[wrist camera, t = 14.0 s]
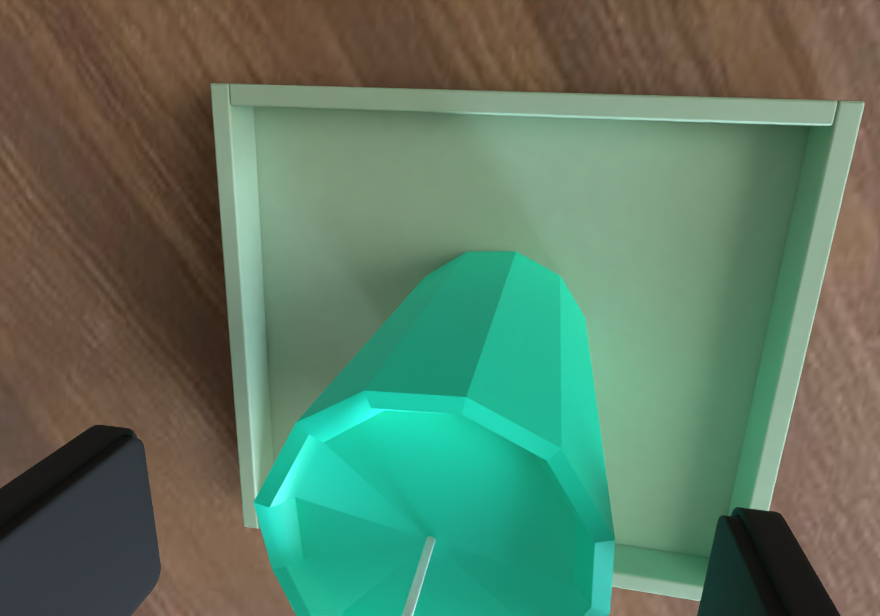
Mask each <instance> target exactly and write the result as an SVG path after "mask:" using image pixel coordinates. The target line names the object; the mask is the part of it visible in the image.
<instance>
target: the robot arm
mask: <svg viewBox="0 0 880 616" xmlns="http://www.w3.org/2000/svg"><path fill="white" fill-rule="evenodd" d="M160 570H161V564H160V557H159V550H158V543H157V536H156V528H155V521H154V514H153V507H152V500H151V493H150V486H149V479H148V472H147V465H146V457H145V450H144V445H143V443H142V441H141V440H140V439H138V438H137V436H136V434H135V433H134V431H133V430H131V429H129V428H121V427H113V426H105V425H95V426H93V427H91V428H89V429H88V430H86V431H85V432H83V433H82V434H80V435H79V436H77V437H76V438H74V439H73V440H71V441H70V442H68V443H67V444H65V445H64V446H62V447H61V448H59V449H58V450H57V451H55V452H54V453H52V454H51V455H49V456H48V457H46V458H45V459H43V460H42V461H40V462H39V463H37V464H36V465H34V466H33V467H31V468H30V469H29V470H27V471H26V472H24V473H23V474H21V475H20V476H18V477H17V478H15V479H14V480H12V481H11V482H9V483H8V484H6V485H5V486H3V487H2V488H1V489H0V616H131V615H132V614H133V612H134V611H135V610H136V609H137V608H138V606H139V605H140V604H141V603H142V602H143V601H144V599H145V598H146V597H147V596H148V595H149V593H150V592H151V591H152V590H153V588H154V587H155V585H156V583H157V581H158V578H159V575H160ZM697 616H840V614H839V612H838V611H837V609H836V607H835V605H834V604H833V602H832V600H831V599H830V597H829V595H828V593H827V592H826V590H825V588H824V587H823V585H822V583H821V581H820V580H819V578H818V576H817V574H816V573H815V571H814V569H813V568H812V566H811V564H810V562H809V561H808V559H807V557H806V555H805V554H804V552H803V550H802V549H801V547H800V545H799V543H798V542H797V540H796V538H795V537H794V535H793V533H792V531H791V530H790V528H789V526H788V524H787V523H786V521H785V519H784V518H783V516H782V515H781V514H780V513H778V512H773V511H765V510H757V509H749V508H742V507H736V508H734V510H733V511H732V513H731V516H725V515H722V516H720V517H719V519H718V522H717V526H716V531H715V535H714V540H713V545H712V549H711V554H710V559H709V563H708V568H707V573H706V577H705V582H704V587H703V591H702V596H701V601H700V605H699V610H698V615H697Z"/></svg>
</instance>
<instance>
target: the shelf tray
mask: <svg viewBox="0 0 880 616" xmlns="http://www.w3.org/2000/svg"><path fill="white" fill-rule="evenodd" d="M210 88H211V101H212V114H213V127H214V141H215V154H216V167H217V180H218V193H219V207H220V220H221V233H222V246H223V260H224V273H225V286H226V299H227V312H228V326H229V339H230V352H231V365H232V378H233V392H234V405H235V418H236V431H237V444H238V458H239V471H240V484H241V497H242V511H243V524H244V526H245V527H251V528H259V529H261V528H260V524H259V521H258V517H257V514H256V510H255V507H254V503H253V502H254V500H255V498H256V496H257V494H258V493H259V491H260V489H261V487H262V485H263V483H264V481H265V479H266V478H267V476H268V474H269V472H270V470H271V468H272V466H273V464H274V463H275V461H276V459H277V457H278V455H279V453H280V451H281V449H282V447H283V446H284V444H285V442H286V440H287V438H288V436H289V434H290V432H291V431H292V429H293V427H294V425H295V423H296V422H297V421H298V419H299V418H300V417H301V416H302V415H303V414H304V413H305V412H306V410H307V409H308V408H309V407H310V406H311V405H312V404H313V403H314V401H315V400H316V399H317V398H318V397H319V396H320V395H321V394H322V392H323V391H324V390H325V389H326V388H327V387H328V386H329V385H330V383H331V382H332V381H333V380H334V379H335V378H336V377H337V375H338V374H339V373H340V372H341V371H342V370H343V369H344V368H345V366H346V365H347V364H348V363H349V362H350V361H351V360H352V359H353V357H354V356H355V355H356V354H357V353H358V352H359V351H360V350H361V348H362V347H363V346H364V345H365V344H366V343H367V342H368V341H369V339H370V338H371V337H372V336H373V335H374V334H375V333H376V332H377V330H378V329H379V328H380V327H381V326H382V325H383V324H384V322H385V321H386V320H387V319H388V318H389V317H390V316H391V315H392V313H393V312H394V311H395V310H396V309H397V308H398V307H399V306H400V304H401V303H402V302H403V301H404V300H405V299H406V298H407V297H408V295H409V294H410V293H411V292H412V291H413V290H414V289H415V288H416V286H417V285H418V284H419V283H420V282H421V281H422V280H423V279H424V277H425V276H426V275H428V274H430V273H431V272H433V271H435V270H436V269H438V268H440V267H441V266H443V265H445V264H447V263H448V262H450V261H452V260H453V259H455V258H457V257H458V256H460V255H462V254H463V253H465V252H485V251H517V252H518V253H520V254H522V255H524V256H526V257H527V258H529V259H531V260H533V261H535V262H536V263H538V264H540V265H542V266H544V267H546V268H547V269H549V270H551V271H553V272H555V273H556V274H558V275H560V276H561V278H562V279H563V281H564V283H565V284H566V286H567V288H568V290H569V291H570V293H571V295H572V296H573V298H574V300H575V301H576V303H577V305H578V306H579V308H580V310H581V311H582V313H583V315H584V317H585V320H586V328H587V335H588V343H589V350H590V357H591V365H592V372H593V380H594V387H595V394H596V402H597V409H598V417H599V424H600V431H601V439H602V446H603V453H604V461H605V468H606V476H607V483H608V490H609V498H610V505H611V513H612V520H613V527H614V535H615V550H614V564H613V578H612V587H618V588H624V589H630V590H636V591H642V592H648V593H655V594H661V595H667V596H673V597H679V598H685V599H691V600H697V601H701V596H702V591H703V587H704V582H705V577H706V573H707V568H708V563H709V559H710V554H711V549H712V545H713V540H714V535H715V531H716V526H717V522H718V519H719V517H720V516H722V515H725V516H731V513H732V511H733V510H734V508H736V507H742V508H749V509H757V510H765V511H769V507H770V503H771V499H772V495H773V490H774V486H775V482H776V478H777V473H778V469H779V465H780V461H781V456H782V452H783V448H784V444H785V439H786V435H787V431H788V427H789V422H790V418H791V414H792V410H793V405H794V401H795V397H796V393H797V389H798V384H799V380H800V376H801V372H802V367H803V363H804V359H805V355H806V350H807V346H808V342H809V338H810V333H811V329H812V325H813V321H814V316H815V312H816V308H817V304H818V299H819V295H820V291H821V287H822V283H823V278H824V274H825V270H826V266H827V261H828V257H829V253H830V249H831V244H832V240H833V236H834V232H835V227H836V223H837V219H838V215H839V210H840V206H841V202H842V198H843V193H844V189H845V185H846V181H847V177H848V172H849V168H850V164H851V160H852V155H853V151H854V147H855V143H856V138H857V134H858V130H859V126H860V121H861V117H862V113H863V109H864V102H863V101H844V100H840V101H836V100H809V99H772V98H736V97H700V96H664V95H627V94H591V93H555V92H519V91H482V90H446V89H410V88H374V87H337V86H301V85H265V84H227V83H212V84H211V85H210Z"/></svg>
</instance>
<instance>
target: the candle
mask: <svg viewBox="0 0 880 616" xmlns="http://www.w3.org/2000/svg"><path fill="white" fill-rule="evenodd" d="M253 503H254V507H255V510H256V514H257V517H258V521H259V524H260V528H261V532H262V535H263V539H264V542H265V546H266V549H267V553H268V556H269V560H270V563H271V567H272V570H273V572H274V574H275V576H276V577H277V579H278V581H279V583H280V585H281V587H282V589H283V591H284V593H285V595H286V596H287V598H288V600H289V602H290V604H291V606H292V608H293V610H294V612H295V614H296V616H608V615H609V614H610V606H611V592H612V578H613V564H614V550H615V535H614V527H613V520H612V513H611V505H610V498H609V490H608V483H607V476H606V468H605V461H604V453H603V446H602V439H601V431H600V424H599V417H598V409H597V402H596V394H595V387H594V380H593V372H592V365H591V357H590V350H589V343H588V335H587V328H586V320H585V317H584V315H583V313H582V311H581V310H580V308H579V306H578V305H577V303H576V301H575V300H574V298H573V296H572V295H571V293H570V291H569V290H568V288H567V286H566V284H565V283H564V281H563V279H562V278H561V276H560V275H558V274H556V273H555V272H553V271H551V270H549V269H547V268H546V267H544V266H542V265H540V264H538V263H536V262H535V261H533V260H531V259H529V258H527V257H526V256H524V255H522V254H520V253H518V252H517V251H485V252H465V253H463V254H462V255H460V256H458V257H457V258H455V259H453V260H452V261H450V262H448V263H447V264H445V265H443V266H441V267H440V268H438V269H436V270H435V271H433V272H431V273H430V274H428V275H426V276H425V277H424V279H423V280H422V281H421V282H420V283H419V284H418V285H417V286H416V288H415V289H414V290H413V291H412V292H411V293H410V294H409V295H408V297H407V298H406V299H405V300H404V301H403V302H402V303H401V304H400V306H399V307H398V308H397V309H396V310H395V311H394V312H393V313H392V315H391V316H390V317H389V318H388V319H387V320H386V321H385V322H384V324H383V325H382V326H381V327H380V328H379V329H378V330H377V332H376V333H375V334H374V335H373V336H372V337H371V338H370V339H369V341H368V342H367V343H366V344H365V345H364V346H363V347H362V348H361V350H360V351H359V352H358V353H357V354H356V355H355V356H354V357H353V359H352V360H351V361H350V362H349V363H348V364H347V365H346V366H345V368H344V369H343V370H342V371H341V372H340V373H339V374H338V375H337V377H336V378H335V379H334V380H333V381H332V382H331V383H330V385H329V386H328V387H327V388H326V389H325V390H324V391H323V392H322V394H321V395H320V396H319V397H318V398H317V399H316V400H315V401H314V403H313V404H312V405H311V406H310V407H309V408H308V409H307V410H306V412H305V413H304V414H303V415H302V416H301V417H300V418H299V419H298V421H297V422H296V423H295V425H294V427H293V429H292V431H291V432H290V434H289V436H288V438H287V440H286V442H285V444H284V446H283V447H282V449H281V451H280V453H279V455H278V457H277V459H276V461H275V463H274V464H273V466H272V468H271V470H270V472H269V474H268V476H267V478H266V479H265V481H264V483H263V485H262V487H261V489H260V491H259V493H258V494H257V496H256V498H255V500H254V502H253Z"/></svg>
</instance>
